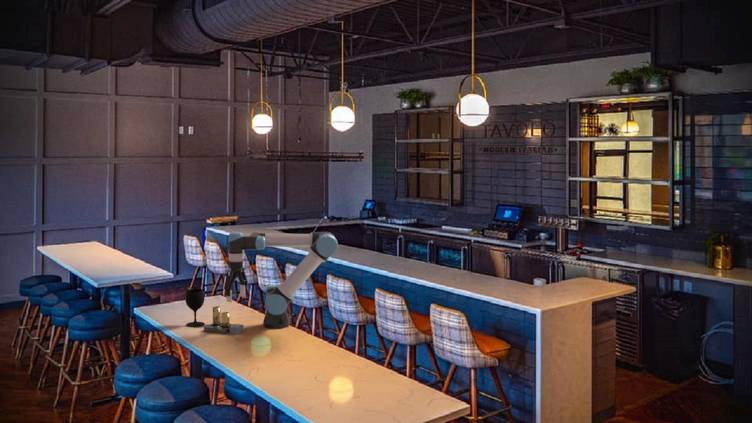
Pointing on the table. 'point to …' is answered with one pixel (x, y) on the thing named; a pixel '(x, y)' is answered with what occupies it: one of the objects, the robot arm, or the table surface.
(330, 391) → the table surface
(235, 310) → the table surface
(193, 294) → the wine glass
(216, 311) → the loose billet
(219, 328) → the grey flat frame
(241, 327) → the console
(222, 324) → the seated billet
